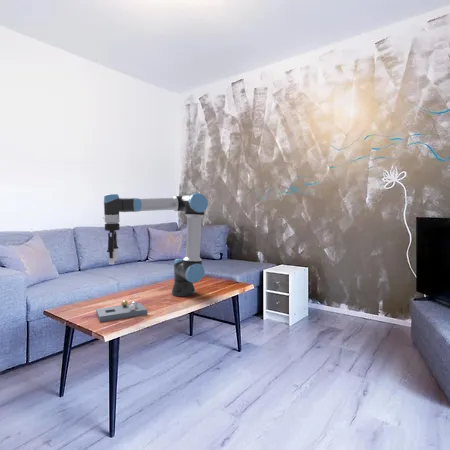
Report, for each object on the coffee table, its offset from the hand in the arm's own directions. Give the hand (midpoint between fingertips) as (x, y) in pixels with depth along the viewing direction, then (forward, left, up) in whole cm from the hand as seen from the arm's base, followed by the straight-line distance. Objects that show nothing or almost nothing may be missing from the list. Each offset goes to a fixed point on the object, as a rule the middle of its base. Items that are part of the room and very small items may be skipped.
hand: (113, 262), depth 171 cm
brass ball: (-5, +4, -22) cm, 23 cm away
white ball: (-7, +14, -22) cm, 27 cm away
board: (-2, +9, -26) cm, 28 cm away
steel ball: (-9, +9, -22) cm, 25 cm away
